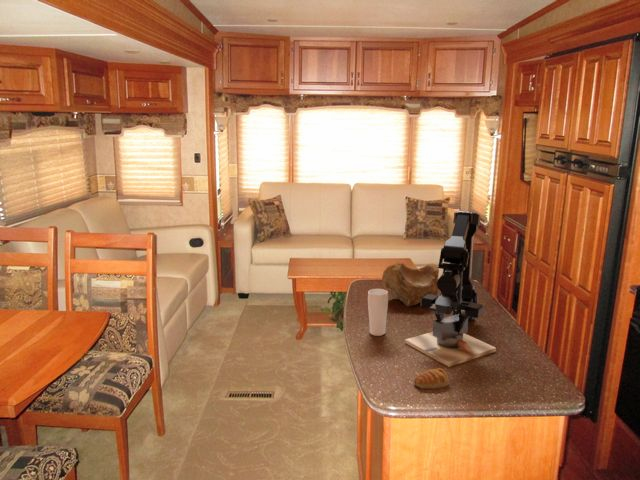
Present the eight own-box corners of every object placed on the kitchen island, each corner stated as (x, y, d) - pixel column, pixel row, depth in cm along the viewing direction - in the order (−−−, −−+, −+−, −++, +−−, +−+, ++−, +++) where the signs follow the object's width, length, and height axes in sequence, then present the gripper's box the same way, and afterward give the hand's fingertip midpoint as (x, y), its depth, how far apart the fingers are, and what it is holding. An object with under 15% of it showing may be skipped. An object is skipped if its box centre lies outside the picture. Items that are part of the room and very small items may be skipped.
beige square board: (450, 330, 182) (450, 326, 182) (495, 351, 166) (496, 347, 165) (405, 342, 172) (405, 338, 172) (448, 367, 156) (449, 362, 155)
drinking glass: (389, 330, 182) (390, 289, 179) (385, 338, 176) (385, 295, 172) (370, 328, 184) (370, 287, 181) (365, 336, 178) (365, 293, 175)
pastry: (422, 393, 142) (422, 380, 141) (408, 382, 148) (409, 369, 147) (451, 386, 145) (451, 373, 144) (436, 375, 151) (437, 363, 150)
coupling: (428, 341, 169) (429, 318, 168) (453, 334, 175) (454, 312, 173) (452, 354, 160) (453, 330, 158) (478, 346, 165) (480, 323, 164)
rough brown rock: (388, 312, 202) (391, 275, 197) (378, 294, 217) (381, 260, 213) (447, 310, 205) (451, 274, 200) (433, 293, 220) (436, 259, 216)
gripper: (413, 285, 163) (412, 332, 166) (473, 296, 152) (470, 346, 156) (428, 276, 172) (426, 321, 175) (485, 286, 161) (482, 334, 165)
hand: (450, 331), depth 168 cm, fingers closed on coupling, 5 cm apart
